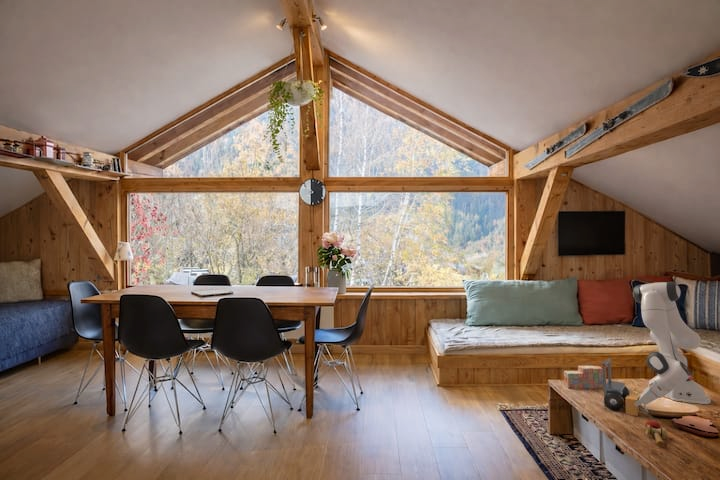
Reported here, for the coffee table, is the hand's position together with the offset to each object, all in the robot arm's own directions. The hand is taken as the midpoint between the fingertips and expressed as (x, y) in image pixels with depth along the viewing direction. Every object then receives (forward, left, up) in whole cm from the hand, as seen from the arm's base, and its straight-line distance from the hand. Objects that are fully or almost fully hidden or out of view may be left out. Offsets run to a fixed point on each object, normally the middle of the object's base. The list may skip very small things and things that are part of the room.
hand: (636, 402), depth 227 cm
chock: (+2, 0, -6) cm, 6 cm away
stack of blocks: (+32, -31, -6) cm, 46 cm away
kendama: (-11, +28, -6) cm, 31 cm away
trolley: (+10, -9, -6) cm, 15 cm away
